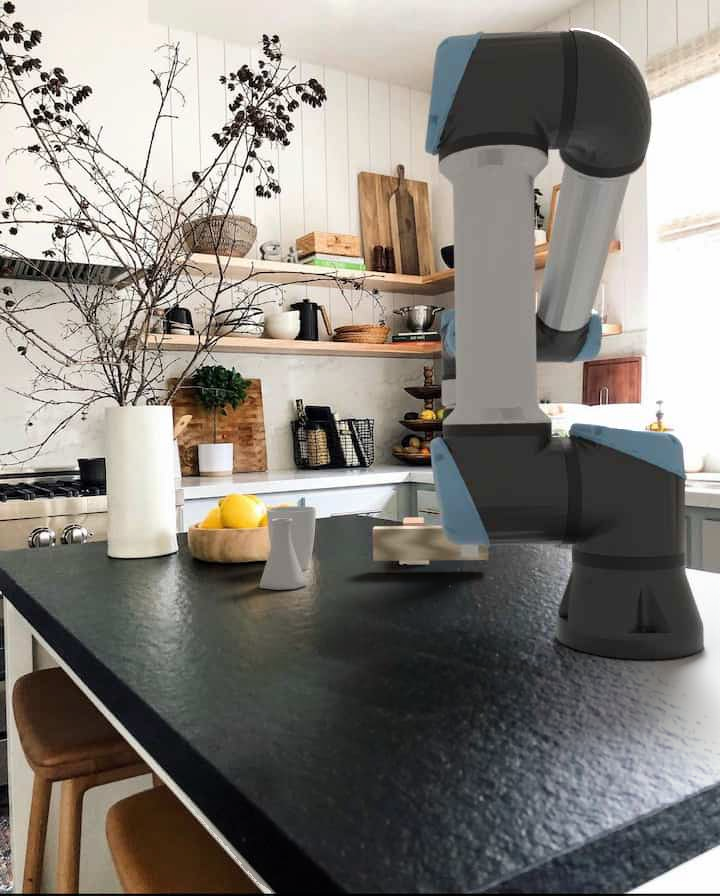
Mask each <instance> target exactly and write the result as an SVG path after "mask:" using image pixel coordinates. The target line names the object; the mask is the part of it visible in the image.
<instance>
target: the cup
mask: <svg viewBox="0 0 720 896" xmlns="http://www.w3.org/2000/svg"><path fill="white" fill-rule="evenodd" d="M316 510H317V509H316V507H312V506H296V505H295V506H280V507H271V508H267V509H266V519H267V531H268V538H269V543H270V547H271V546H272V539H273V525H272V523H271V520H272V519H281V518H287V519H292V523H291V524H290V534H291V539H292V545H293V548H294V551H295V554H296V557H297V560H298V562H299V565H300V568H301V570H302V572H304V571H307V570H308V568H309V565H310V562H311V558H312V554H313V550H314V540H315V534H316Z"/></svg>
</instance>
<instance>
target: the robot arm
mask: <svg viewBox="0 0 720 896" xmlns="http://www.w3.org/2000/svg"><path fill="white" fill-rule="evenodd" d="M434 56H435V57H434V63H433V65H434V66H433V73H432V74H433V75H432V80H431V81H432V82H431V89H430V90H431V92H430V101H429V109H428V117H427V118H428V119H427V127H426V134H425V136H426V137H425V143H424V144H425V145H424V151H425V152H426V153H427V154H429V155H430V154H431V155H432V156H435V157H436V156H438V172H439V173H440V174H441V175H442V176H443V177H444V178H445V179H446V180H447V181H448V182H449V183H450V184H451V185H452V193H453V194H452V199H453V201H452V202H453V203H452V205H453V211H452V212H453V213H452V214H453V268H454V269H453V270H454V308H451V309H448V310H445V311H443V312H442V314H441V317H440V318H441V321H440V330H439V333H440V334H439V336H440V344H441V347H440V348H441V353H440V354H441V373H442V376H441V405H442V406H444V407H445V409H443V411H442V413H441V414H442V437H441V436H437V437H436V438H433V439H431V441H430V442H429V452H430V459H431V469H432V474H433V475H432V477H433V483H434V490H435V496H436V502H437V507H438V508H437V509H438V514H439V519H440V524H441V526H442V528H443V532H444V534H445V536H446V537H447V538H448V539H449V540H450V541H451V542H453V543H455V544H459V545H461V557H479V554H478V545H482V546H485V547H488V548H491V547H492V546H534V545H535V546H542V545H543V546H544V545H545V546H548V545H549V546H551V545H554V546H555V545H556V546H557V545H570V546H571V568H570V573H569V576H568V578H567V582H566V585H565V589H564V591H563V594H562V598H561V601H560V603H559V604H560V605H559V606H558V610H557V614H556V616H555V637H556V639H557V641H559V643H560V644H563V645H564V646H567V647H569V648H571V649H574V650H577V651H580V652H584V653H587V654H588V653H589V654H592V655H596V656H597V655H598V656H603V657H608V658H609V657H611V658H619V659H620V658H621V659H629V660H630V659H631V660H632V659H634V660H663V659H675V658H681V657H687V656H690V655H694V654H696V653H698V652H701V650H702V649H703V648H704V644H705V643H704V639H705V638H704V637H705V636H704V635H705V634H704V623H703V620H702V618H701V614H700V611H699V608H698V606H697V603H696V600H695V597H694V593H693V591H692V588H691V584H690V582H689V580H688V579H689V578H688V576H687V573H686V572H687V571H686V481H687V479H688V477H687V475H686V468H685V458H684V448H683V444H682V442H681V440H680V439H679V438H678V437H677V436H676V435H674V434H671V433H668V432H663V431H657V430H650V429H649V430H647V429H639V428H631V427H622V426H614V425H613V426H612V425H601V424H592V423H591V424H590V423H589V424H588V423H579V422H577V423H572V424H571V426H570V428H569V430H568V435H569V436H553V434H552V433H553V431H552V430H553V427H552V425H553V424H552V423H553V422H552V418H551V417H550V416H549V415H548V414H547V413H546V412H544V411H543V410H542V408H540V406H539V404H538V400H537V399H538V391H537V389H538V388H537V386H538V385H537V379H538V378H537V363H538V364H539V363H546V364H548V363H566V364H567V363H568V364H570V363H571V364H572V363H574V362H585V361H592V360H594V359H596V358H597V356H598V355H599V354H600V351H601V349H602V339H603V322H602V318H601V316H600V313H599V312H598V311H597V310H595V309H594V306H595V302H596V298H597V295H598V292H599V288H600V284H601V282H602V278H603V275H604V270H605V267H606V263H607V259H608V256H609V252H610V249H611V246H612V242H613V238H614V235H615V231H616V228H617V224H618V220H619V217H620V214H621V210H622V206H623V203H624V198H625V195H626V194H627V193H626V192H627V188H628V185H629V181H630V178H631V175H633V174H635V173H636V172H638V171H639V169H640V168H641V167H642V166H643V163H644V161H645V159H646V155H647V151H648V148H649V143H650V142H651V141H650V140H651V135H652V121H653V119H652V108H651V102H650V96H649V92H648V88H647V84H646V81H645V79H644V77H643V75H642V74H641V71H640V69H639V67H638V66H637V64H636V63H635V61H634V60H633V58H632V57H631V56H630V54H629V53H628V51H626V50H625V49H624V47H622V46H621V44H619V43H617V42H616V41H615V40H613V39H612V38H610V37H608V36H607V35H605V34H603V33H602V32H601V33H600V32H598V31H595V30H594V31H593V30H589V29H585V28H584V29H582V28H570V29H568V30H551V31H550V30H549V31H547V30H546V31H545V30H543V31H516V32H514V31H513V32H510V31H509V32H487V33H486V32H484V31H478V32H477V33H472V34H470V33H469V34H462V35H461V34H460V35H451V36H448V37H445V38H444V39H442V41H441V42H440V43H439V45H438V46H437V48H436V50H435V55H434ZM550 150H553V151H554V150H556V151H557V150H558V156H559V158H560V161H561V162H562V164H563V166H564V168H563V173H562V178H561V183H560V187H559V193H558V199H557V203H556V209H555V213H554V220H553V224H552V229H551V235H550V239H549V244H548V245H549V246H548V249H547V255H546V261H545V266H544V271H543V276H542V281H541V285H540V292H539V296H538V301H537V300H536V248H535V247H536V241H535V238H536V237H535V235H536V233H535V232H536V231H535V180H536V178H537V177H538V176H539V175H540V174H541V173H542V172H543V170H544V169H545V168H547V166H548V164H549V151H550ZM536 301H537V305H536ZM536 306H537V308H536Z"/></svg>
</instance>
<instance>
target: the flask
mask: <svg viewBox="0 0 720 896" xmlns="http://www.w3.org/2000/svg"><path fill="white" fill-rule="evenodd" d="M271 523H272V525H273V539H272V546H271V545H270V550H269V552H268V553H269V554H268V556H267V560H266V563H265V566H264V569H263V573H262V576H261V578H260V582H259V588H260V589H267V590H275V591H279V590H280V591H281V590H296V589H299V588H302V587H305V586H307V582H306V579H305V576H304V573H303V571H302V570H301V568H300V565H299V562H298V560H297V557H296V554H295V551H294V548H293V545H292V539H291V534H290V524H291V523H292V519H287V518H281V519H272V520H271Z"/></svg>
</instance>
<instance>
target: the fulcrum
mask: <svg viewBox="0 0 720 896" xmlns="http://www.w3.org/2000/svg"><path fill="white" fill-rule="evenodd" d="M402 526H425V521H424V517H423V516H422V517H419V516H417V517H415V516H414V517H410V516H409V517H403V520H402ZM399 564H400V565H402V566H403V564H407V565H430V560H410V561H399Z"/></svg>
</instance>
